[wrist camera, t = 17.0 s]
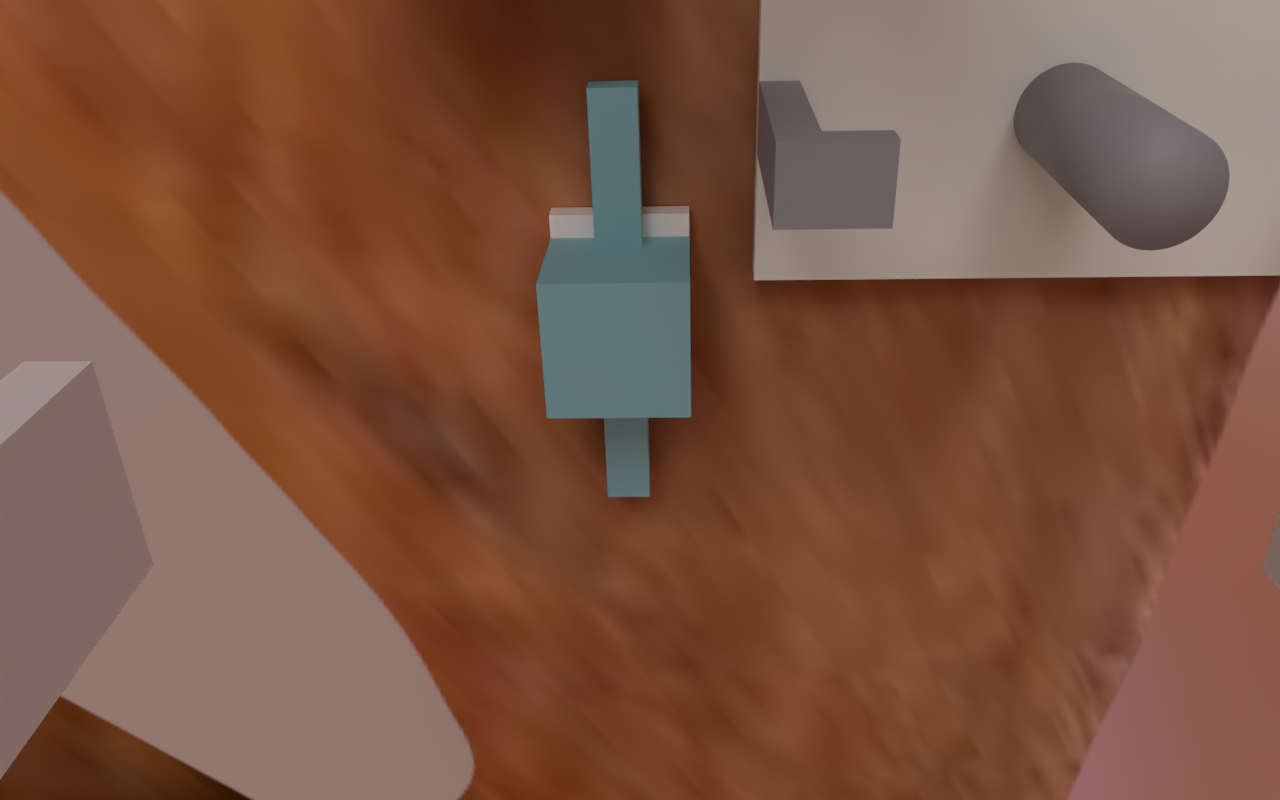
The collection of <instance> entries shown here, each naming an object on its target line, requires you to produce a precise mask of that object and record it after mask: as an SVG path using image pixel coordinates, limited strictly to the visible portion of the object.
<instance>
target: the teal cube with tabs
mask: <svg viewBox="0 0 1280 800" xmlns="http://www.w3.org/2000/svg"><path fill="white" fill-rule="evenodd" d="M586 92H587V111H588V129H589V148H590V167H591V186H592V205H593V224H594V238H551V239H550V242H549V245H548V248H547V252H546V255H545V258H544V261H543V264H542V267H541V270H540V273H539V276H538V279H537V283H536V292H537V304H538V316H539V328H540V341H541V353H542V365H543V377H544V389H545V401H546V414H547V418H604V431H605V450H606V469H607V488H608V497H650V484H651V482H650V448H649V418H678V417H691V338H690V236H673V237H643V215H642V182H641V148H640V115H639V82H638V80H636V81H591V82H588V85H587V88H586Z"/></svg>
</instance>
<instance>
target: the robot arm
mask: <svg viewBox="0 0 1280 800" xmlns="http://www.w3.org/2000/svg"><path fill="white" fill-rule="evenodd" d="M152 566H153V562H152V559H151V555H150V552H149V549H148V546H147V542H146V539H145V536H144V532H143V529H142V526H141V523H140V519H139V516H138V512H137V509H136V506H135V503H134V499H133V496H132V493H131V489H130V486H129V483H128V479H127V476H126V473H125V469H124V466H123V463H122V459H121V457H120V453H119V449H118V446H117V443H116V440H115V437H114V433H113V430H112V426H111V423H110V420H109V416H108V413H107V410H106V406H105V403H104V400H103V397H102V393H101V390H100V387H99V383H98V380H97V377H96V373H95V370H94V367H93V363H92V361H86V362H85V361H84V362H83V361H80V362H79V361H77V362H76V361H73V362H70V361H68V362H23V363H22V364H20V365H19V366H18V367H17V368H15V369H14V370H13V371H12V372H11V373H9V374H8V375H7V376H6V377H4V378H3V379H2V380H1V381H0V779H1V778H2V776H3V775H4V773H5V772H6V771H7V769H8V768H9V766H10V765H11V764H12V762H13V761H14V759H15V758H16V757H17V755H18V754H19V752H20V751H21V750H22V748H23V747H24V745H25V744H26V743H27V741H28V740H29V738H30V737H31V736H32V734H33V733H34V731H35V730H36V729H37V727H38V726H39V724H40V723H41V722H42V720H43V719H44V717H45V716H46V715H47V713H48V712H49V710H50V709H51V708H52V706H53V705H54V703H55V702H56V701H57V699H58V698H59V696H60V695H61V693H62V692H63V691H64V689H65V688H66V686H67V685H68V684H69V682H70V681H71V679H72V678H73V677H74V675H75V674H76V672H77V671H78V670H79V668H80V667H81V665H82V664H83V663H84V661H85V660H86V658H87V657H88V655H89V654H90V653H91V651H92V650H93V649H94V647H95V646H96V644H97V643H98V641H99V640H100V639H101V637H102V636H103V635H104V633H105V632H106V630H107V629H108V627H109V626H110V625H111V623H112V622H113V621H114V619H115V618H116V616H117V615H118V614H119V612H120V611H121V609H122V608H123V607H124V605H125V604H126V602H127V601H128V600H129V598H130V596H131V595H132V594H133V593H134V591H135V590H136V588H137V587H138V585H139V584H140V583H141V581H142V580H143V579H144V577H145V576H146V574H147V573H148V571H149V570H150V569H151V567H152ZM1262 568H1263V570H1264V571H1265V572H1266V573H1267V575H1268V576H1269V577H1270V579H1271V580H1272V581H1273V583H1274V584H1275V585H1276V586H1277V588H1278V589H1279V590H1280V512H1279V516H1278V519H1277V523H1276V525H1275V528H1274V532H1273V535H1272V538H1271V541H1270V544H1269V547H1268V551H1267V554H1266V557H1265V561H1264V564H1263V567H1262Z"/></svg>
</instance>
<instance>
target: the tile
mask: <svg viewBox="0 0 1280 800" xmlns="http://www.w3.org/2000/svg"><path fill="white" fill-rule="evenodd" d="M642 215H643V237H673V236H689V206H649V207H642ZM549 224H550V239H551V238H594V224H593V207H570V208H551V211H550V213H549Z"/></svg>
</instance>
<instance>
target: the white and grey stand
mask: <svg viewBox="0 0 1280 800" xmlns="http://www.w3.org/2000/svg"><path fill="white" fill-rule="evenodd" d="M752 271H753V277H754V280H851V279H957V278H1063V277H1169V276H1275V275H1280V0H760V2H759V40H758V78H757V116H756V154H755V192H754V230H753V268H752Z"/></svg>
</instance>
